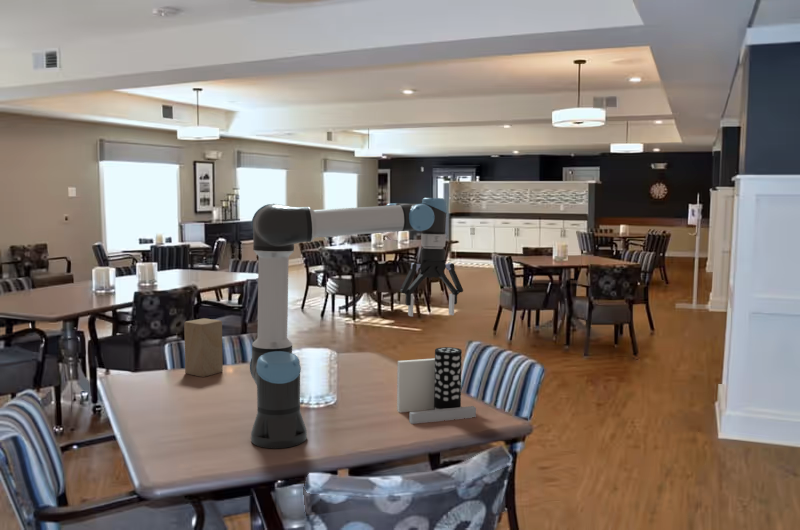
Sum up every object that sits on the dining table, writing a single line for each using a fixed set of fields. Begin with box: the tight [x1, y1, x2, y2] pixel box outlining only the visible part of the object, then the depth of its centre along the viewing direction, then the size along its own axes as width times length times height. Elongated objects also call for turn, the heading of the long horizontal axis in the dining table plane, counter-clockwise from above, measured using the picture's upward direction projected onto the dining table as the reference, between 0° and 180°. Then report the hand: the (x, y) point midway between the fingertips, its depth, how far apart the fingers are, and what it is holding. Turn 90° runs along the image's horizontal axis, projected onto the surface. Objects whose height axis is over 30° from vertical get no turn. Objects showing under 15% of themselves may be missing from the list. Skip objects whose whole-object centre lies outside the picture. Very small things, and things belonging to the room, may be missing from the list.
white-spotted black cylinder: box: [433, 346, 463, 410], centre depth 214 cm, size 8×8×20 cm
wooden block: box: [183, 317, 224, 378], centre depth 260 cm, size 10×10×20 cm
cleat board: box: [396, 357, 477, 425], centre depth 212 cm, size 21×14×16 cm, turn 109°
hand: (431, 315), depth 215 cm, fingers open, 13 cm apart
